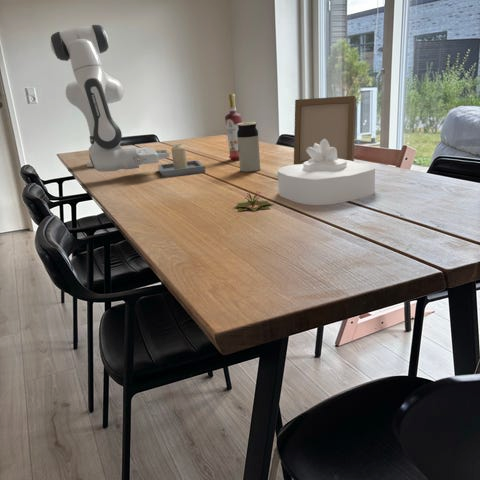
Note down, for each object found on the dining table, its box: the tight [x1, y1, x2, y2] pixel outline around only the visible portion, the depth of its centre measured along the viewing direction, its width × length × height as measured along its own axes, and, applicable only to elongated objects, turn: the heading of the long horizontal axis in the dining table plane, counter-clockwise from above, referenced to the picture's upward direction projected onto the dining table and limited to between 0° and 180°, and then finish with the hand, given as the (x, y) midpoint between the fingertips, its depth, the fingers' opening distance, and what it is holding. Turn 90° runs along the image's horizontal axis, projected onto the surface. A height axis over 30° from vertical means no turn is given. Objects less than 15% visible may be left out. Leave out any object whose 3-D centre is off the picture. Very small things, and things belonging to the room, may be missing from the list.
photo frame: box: [293, 95, 357, 165], centre depth 175 cm, size 15×22×25 cm
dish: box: [157, 159, 206, 179], centre depth 190 cm, size 17×17×2 cm
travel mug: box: [237, 121, 261, 173], centre depth 178 cm, size 8×8×18 cm
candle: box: [171, 143, 187, 169], centre depth 189 cm, size 6×6×10 cm
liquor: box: [224, 93, 243, 161], centre depth 204 cm, size 7×7×28 cm
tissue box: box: [277, 139, 376, 206], centre depth 136 cm, size 25×25×16 cm
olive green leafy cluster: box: [232, 190, 275, 212], centre depth 129 cm, size 12×12×5 cm
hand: (167, 153), depth 187 cm, fingers open, 8 cm apart
